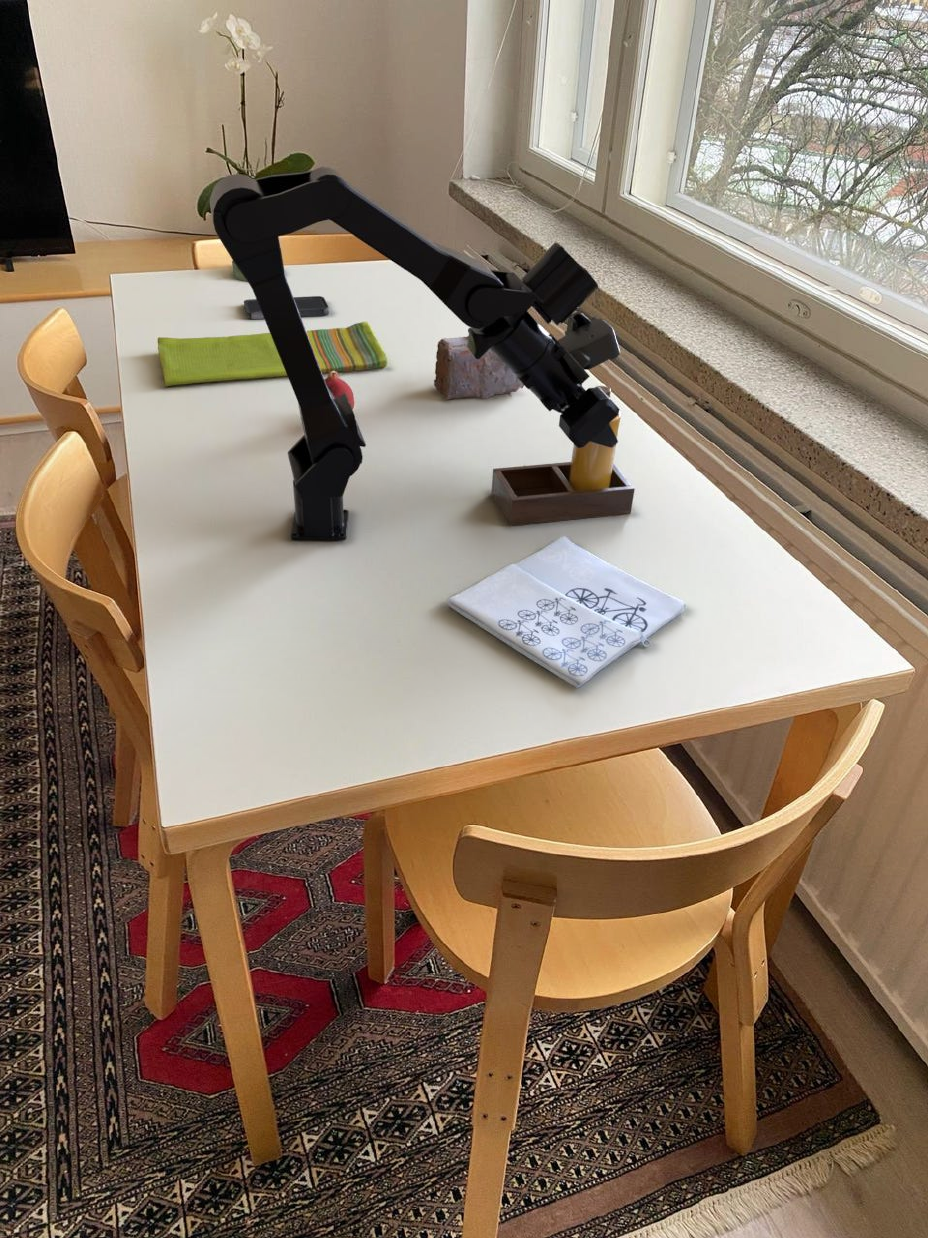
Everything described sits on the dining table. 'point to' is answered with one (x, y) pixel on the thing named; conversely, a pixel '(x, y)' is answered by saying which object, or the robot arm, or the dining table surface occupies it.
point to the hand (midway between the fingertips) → (606, 434)
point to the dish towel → (264, 355)
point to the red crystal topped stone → (471, 372)
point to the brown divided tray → (556, 495)
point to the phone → (304, 305)
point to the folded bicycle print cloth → (567, 610)
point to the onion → (339, 387)
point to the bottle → (593, 461)
